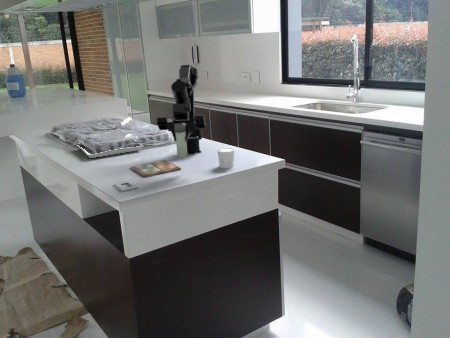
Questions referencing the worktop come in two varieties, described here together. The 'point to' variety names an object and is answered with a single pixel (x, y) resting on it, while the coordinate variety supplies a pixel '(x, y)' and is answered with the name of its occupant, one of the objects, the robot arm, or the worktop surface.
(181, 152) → the cylinder
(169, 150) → the worktop surface
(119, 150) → the square plate
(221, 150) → the white cup
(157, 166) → the picture board
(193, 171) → the worktop surface
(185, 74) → the robot arm
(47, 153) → the worktop surface
